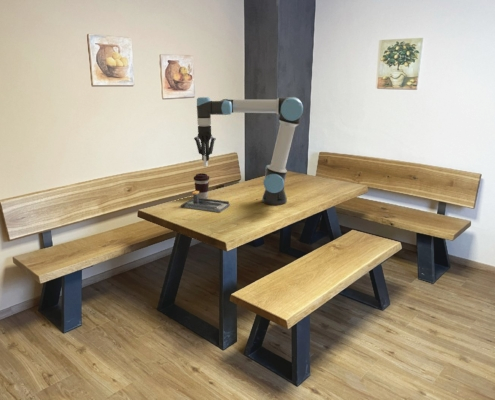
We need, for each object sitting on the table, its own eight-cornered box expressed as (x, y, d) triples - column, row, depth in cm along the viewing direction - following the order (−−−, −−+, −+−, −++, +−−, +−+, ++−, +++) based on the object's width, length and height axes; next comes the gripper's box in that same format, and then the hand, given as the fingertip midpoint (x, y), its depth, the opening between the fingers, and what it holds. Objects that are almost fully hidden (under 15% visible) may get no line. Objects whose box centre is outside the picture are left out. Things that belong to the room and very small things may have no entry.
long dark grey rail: (229, 203, 255) (229, 200, 255) (227, 204, 253) (227, 202, 252) (195, 199, 264) (195, 196, 263) (193, 200, 261) (192, 197, 261)
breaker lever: (199, 202, 252) (199, 191, 250) (196, 204, 249) (196, 192, 247) (196, 201, 253) (195, 190, 251) (192, 203, 250) (192, 192, 248)
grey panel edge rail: (195, 201, 259) (195, 198, 259) (183, 207, 247) (183, 205, 247) (193, 201, 260) (192, 198, 260) (181, 207, 248) (181, 204, 247)
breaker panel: (229, 206, 250) (229, 202, 250) (220, 212, 239) (219, 208, 238) (191, 201, 260) (191, 197, 259) (180, 207, 248) (180, 203, 248)
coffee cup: (207, 199, 262) (206, 176, 258) (192, 198, 264) (191, 175, 260) (211, 195, 272) (211, 173, 267) (197, 194, 274) (196, 172, 269)
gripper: (217, 124, 237) (218, 165, 244) (197, 124, 242) (199, 164, 249) (211, 126, 230) (213, 168, 237) (190, 125, 235) (192, 166, 242)
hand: (205, 166), depth 243 cm, fingers closed
